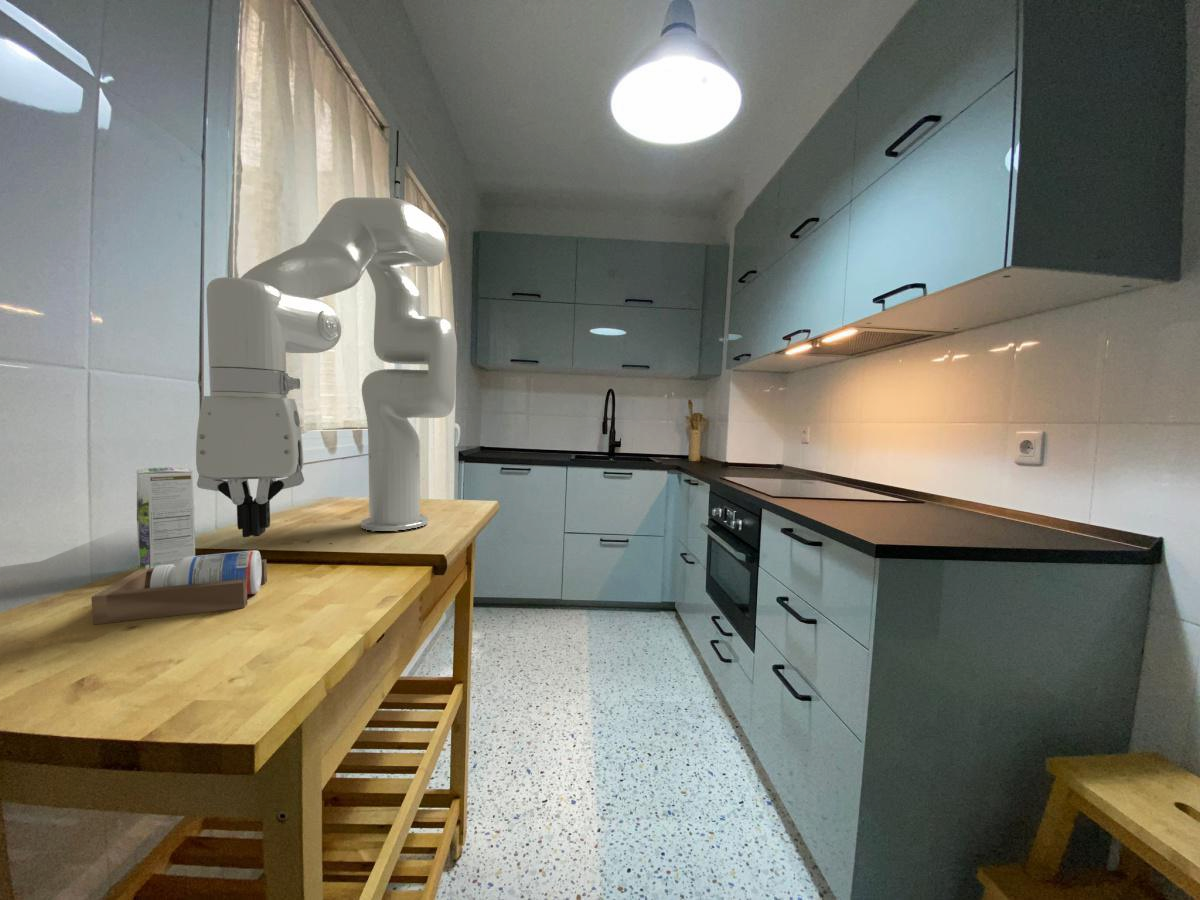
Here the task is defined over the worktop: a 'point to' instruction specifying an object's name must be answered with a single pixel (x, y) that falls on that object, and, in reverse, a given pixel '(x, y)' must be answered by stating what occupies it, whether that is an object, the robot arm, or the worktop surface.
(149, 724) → the worktop surface
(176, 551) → the syrup box
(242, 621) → the worktop surface
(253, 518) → the robot arm
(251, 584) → the pill bottle
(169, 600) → the cradle
